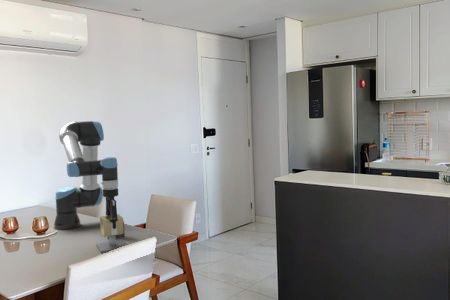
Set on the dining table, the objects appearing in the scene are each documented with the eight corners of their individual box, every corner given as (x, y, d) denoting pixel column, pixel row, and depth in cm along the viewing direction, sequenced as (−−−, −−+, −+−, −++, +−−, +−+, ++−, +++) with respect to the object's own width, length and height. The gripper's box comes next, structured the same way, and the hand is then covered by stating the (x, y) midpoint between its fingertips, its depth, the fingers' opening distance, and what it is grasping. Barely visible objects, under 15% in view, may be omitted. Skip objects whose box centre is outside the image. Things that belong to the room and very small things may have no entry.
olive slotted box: (100, 232, 212) (100, 216, 211) (119, 229, 216) (118, 214, 216) (104, 236, 204) (103, 220, 203) (123, 233, 208) (123, 218, 207)
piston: (96, 245, 214) (95, 233, 213) (123, 241, 220) (122, 230, 219) (101, 253, 201) (100, 241, 201) (129, 248, 207) (129, 236, 207)
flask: (107, 239, 224) (106, 219, 223) (107, 237, 227) (106, 218, 226) (124, 237, 227) (124, 218, 226) (124, 236, 230) (123, 217, 229)
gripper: (98, 185, 216) (100, 228, 218) (106, 192, 197) (108, 238, 198) (113, 184, 220) (115, 226, 221) (122, 190, 200) (124, 236, 202)
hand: (112, 232), depth 210 cm, fingers closed on olive slotted box, 9 cm apart
